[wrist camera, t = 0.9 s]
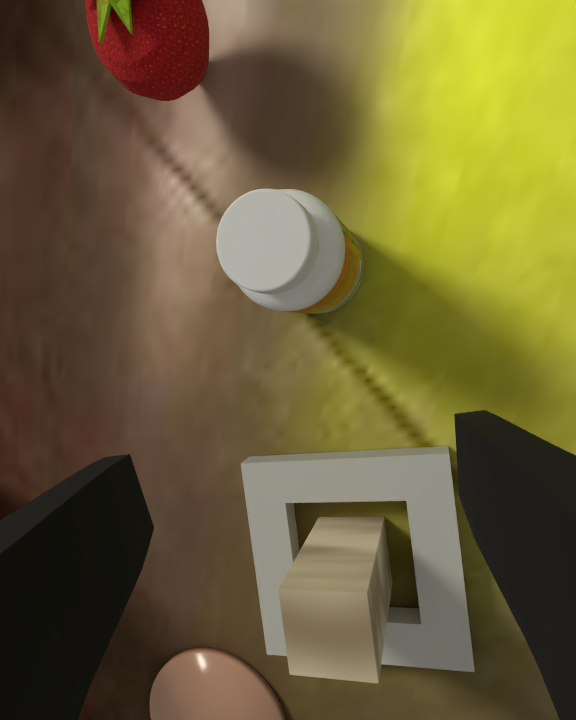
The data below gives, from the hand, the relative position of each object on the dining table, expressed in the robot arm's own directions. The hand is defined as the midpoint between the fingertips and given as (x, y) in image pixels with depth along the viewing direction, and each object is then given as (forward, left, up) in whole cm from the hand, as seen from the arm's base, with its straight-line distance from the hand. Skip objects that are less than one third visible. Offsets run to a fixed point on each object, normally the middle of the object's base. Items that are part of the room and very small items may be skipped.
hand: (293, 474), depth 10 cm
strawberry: (+20, +9, -17) cm, 28 cm away
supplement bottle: (+7, +3, -17) cm, 19 cm away
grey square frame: (-10, +3, -17) cm, 20 cm away
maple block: (-10, +3, -17) cm, 20 cm away
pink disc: (-22, +14, -17) cm, 31 cm away
